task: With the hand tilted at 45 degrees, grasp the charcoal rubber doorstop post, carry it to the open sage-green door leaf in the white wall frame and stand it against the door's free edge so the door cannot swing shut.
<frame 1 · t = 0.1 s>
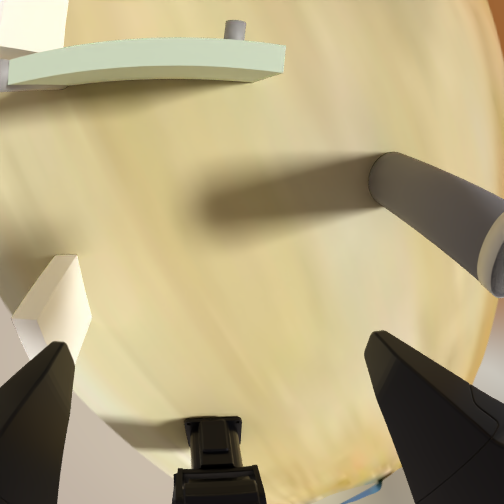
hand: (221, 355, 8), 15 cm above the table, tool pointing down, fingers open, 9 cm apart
wall frame: (52, 164, 18), on the table
doorstop post: (392, 179, 23), on the table
door: (134, 50, 13), point 4 cm above the table, hinge at 88.0°
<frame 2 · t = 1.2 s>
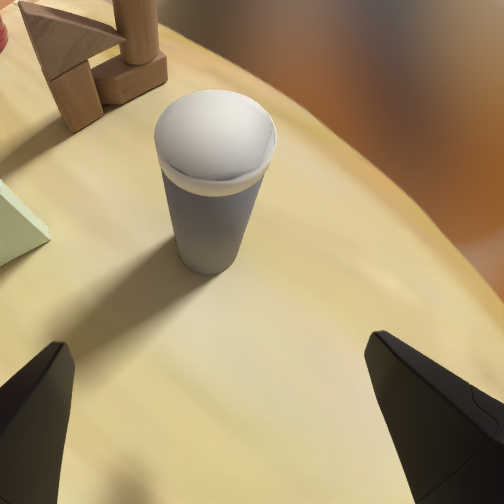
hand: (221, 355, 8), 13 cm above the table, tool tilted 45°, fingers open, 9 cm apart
doorstop post: (207, 245, 23), on the table
toy block tower: (114, 98, 27), on the table
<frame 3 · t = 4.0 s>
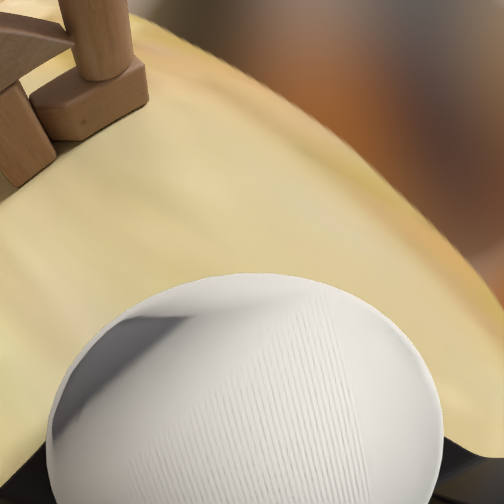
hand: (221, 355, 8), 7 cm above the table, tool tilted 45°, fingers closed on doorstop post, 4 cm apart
doorstop post: (215, 381, 15), on the table, touching gripper
toy block tower: (74, 130, 18), on the table
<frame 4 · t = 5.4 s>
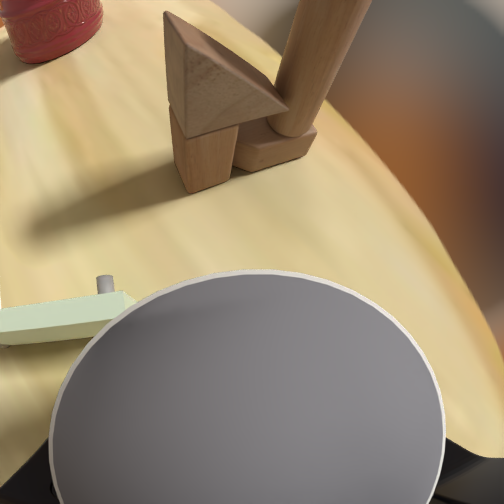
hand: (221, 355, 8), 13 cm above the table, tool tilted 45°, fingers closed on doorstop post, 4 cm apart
canister: (59, 36, 29), on the table
doorstop post: (216, 380, 15), point 6 cm above the table, touching gripper
toy block tower: (241, 158, 26), on the table
door: (38, 315, 16), point 4 cm above the table, hinge at 88.0°
when the fingers open (8 cm above the table, at t = 7.1 s): doorstop post stays where it is, on the table.
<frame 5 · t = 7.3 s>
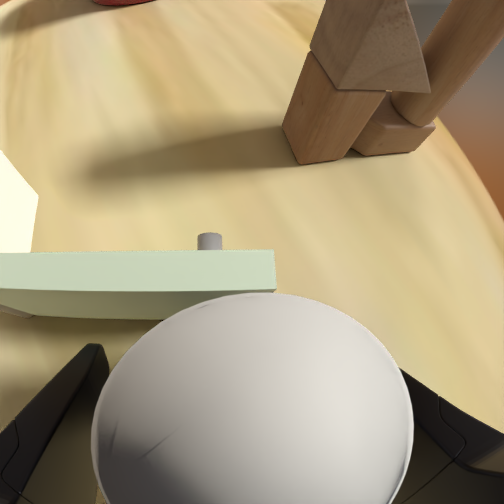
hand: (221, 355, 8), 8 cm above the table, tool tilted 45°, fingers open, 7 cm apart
wall frame: (18, 403, 13), on the table
doorstop post: (215, 382, 16), on the table
toy block tower: (352, 140, 22), on the table
door: (94, 277, 12), point 4 cm above the table, hinge at 88.0°
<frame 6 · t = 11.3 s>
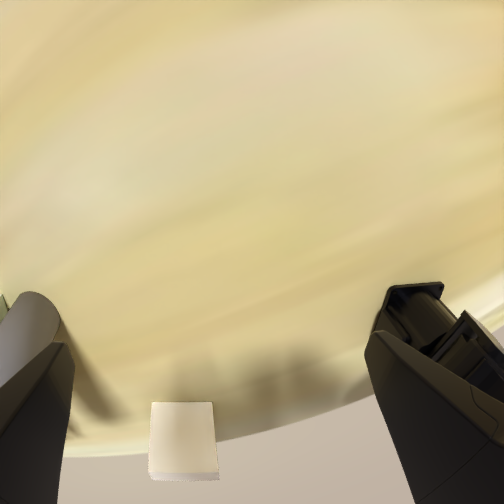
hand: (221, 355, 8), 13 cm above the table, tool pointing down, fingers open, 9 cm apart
wall frame: (90, 403, 27), on the table
doorstop post: (37, 313, 22), on the table
door: (0, 380, 20), point 4 cm above the table, hinge at 88.0°
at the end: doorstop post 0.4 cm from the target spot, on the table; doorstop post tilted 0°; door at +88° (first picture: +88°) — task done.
